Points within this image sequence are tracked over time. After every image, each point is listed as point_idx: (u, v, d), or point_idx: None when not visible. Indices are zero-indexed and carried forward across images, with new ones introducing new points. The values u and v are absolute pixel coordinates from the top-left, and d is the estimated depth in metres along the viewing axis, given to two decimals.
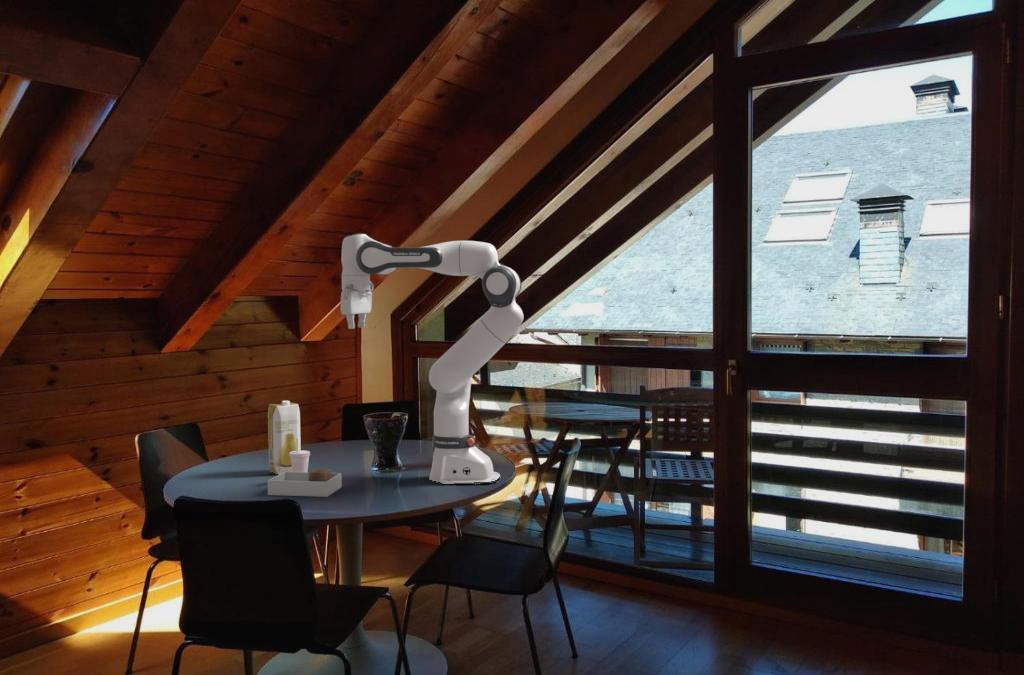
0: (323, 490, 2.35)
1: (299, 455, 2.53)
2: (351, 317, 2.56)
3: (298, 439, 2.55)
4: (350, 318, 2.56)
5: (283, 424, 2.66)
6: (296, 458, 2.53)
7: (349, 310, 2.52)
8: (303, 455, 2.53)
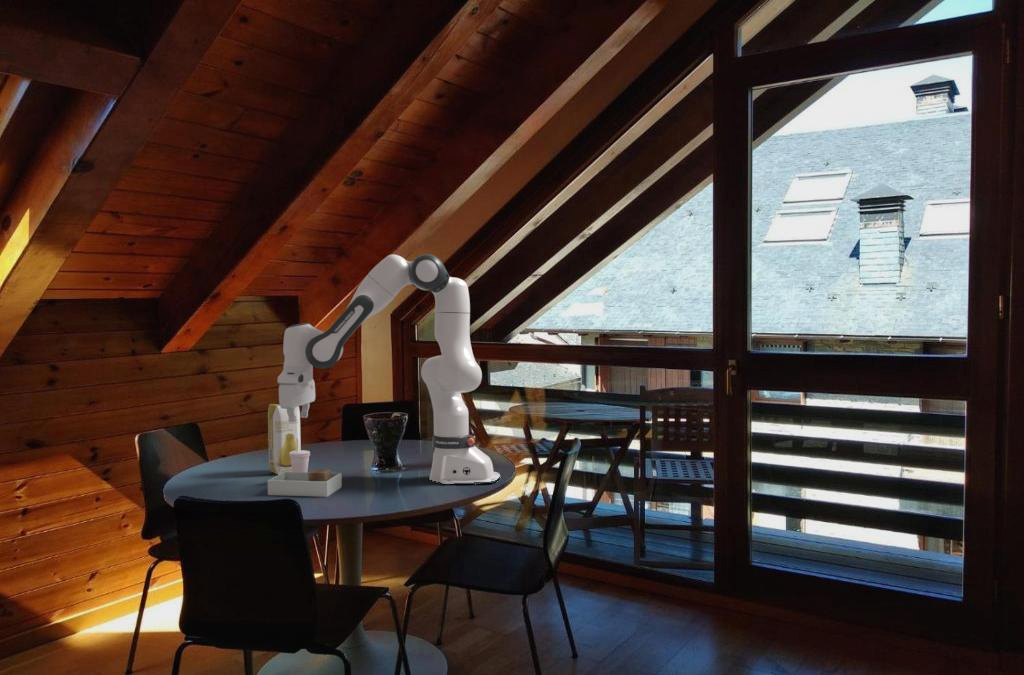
0: (323, 490, 2.35)
1: (299, 455, 2.53)
2: None
3: (298, 439, 2.55)
4: None
5: (283, 424, 2.66)
6: (296, 458, 2.53)
7: None
8: (303, 455, 2.53)
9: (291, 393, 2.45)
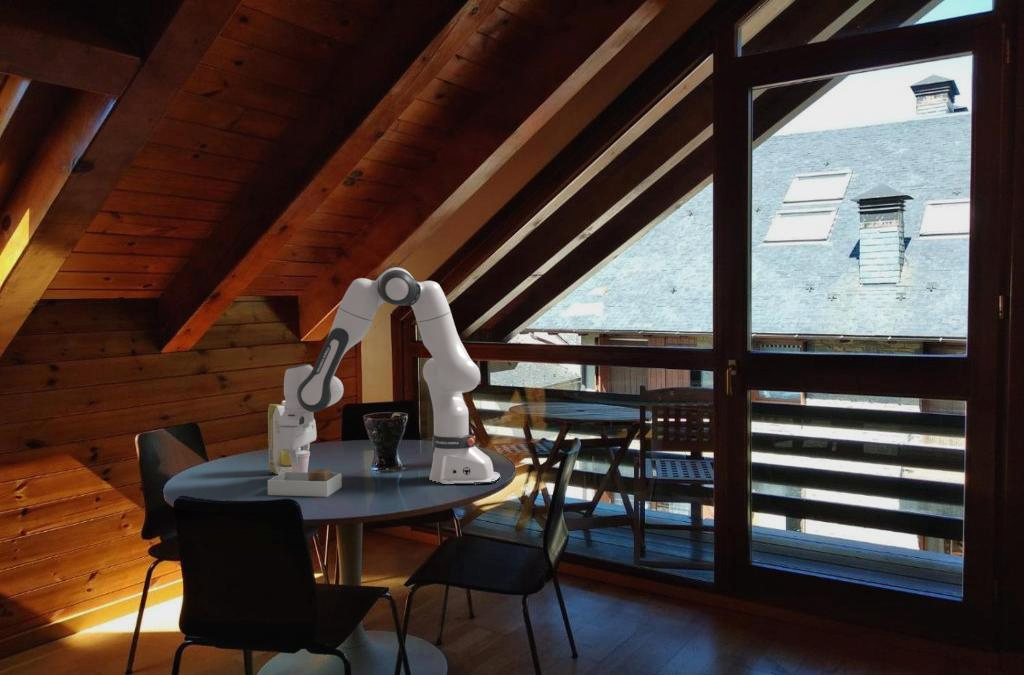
0: (323, 490, 2.35)
1: (299, 455, 2.53)
2: None
3: None
4: None
5: None
6: None
7: None
8: (303, 455, 2.53)
9: (292, 436, 2.46)
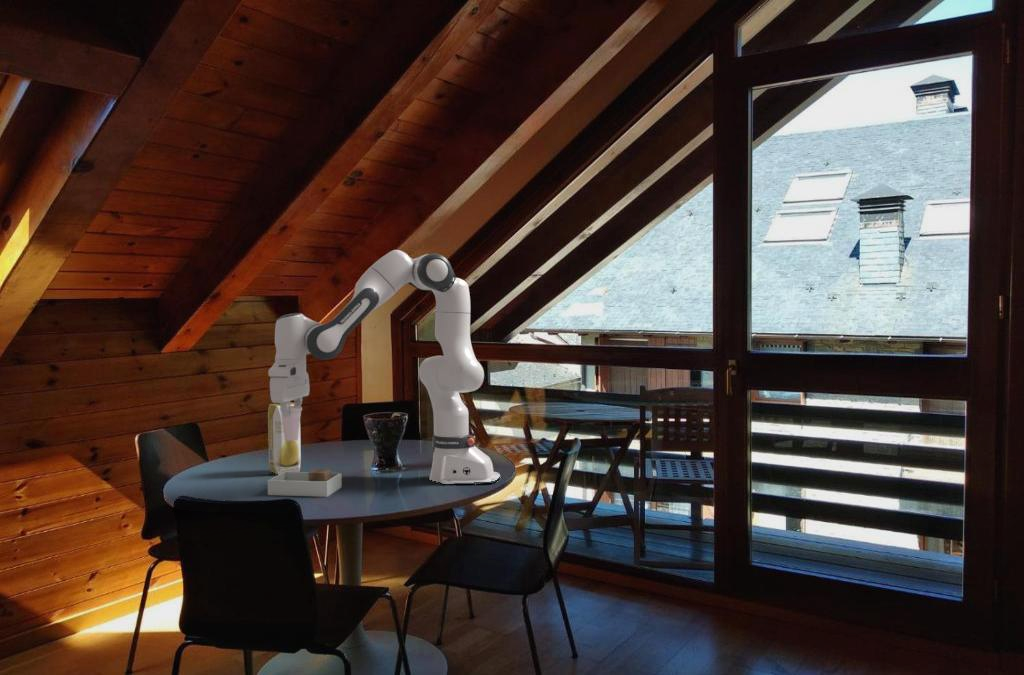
0: (323, 490, 2.35)
1: (290, 409, 2.40)
2: None
3: None
4: None
5: None
6: None
7: None
8: (295, 410, 2.40)
9: (283, 387, 2.33)
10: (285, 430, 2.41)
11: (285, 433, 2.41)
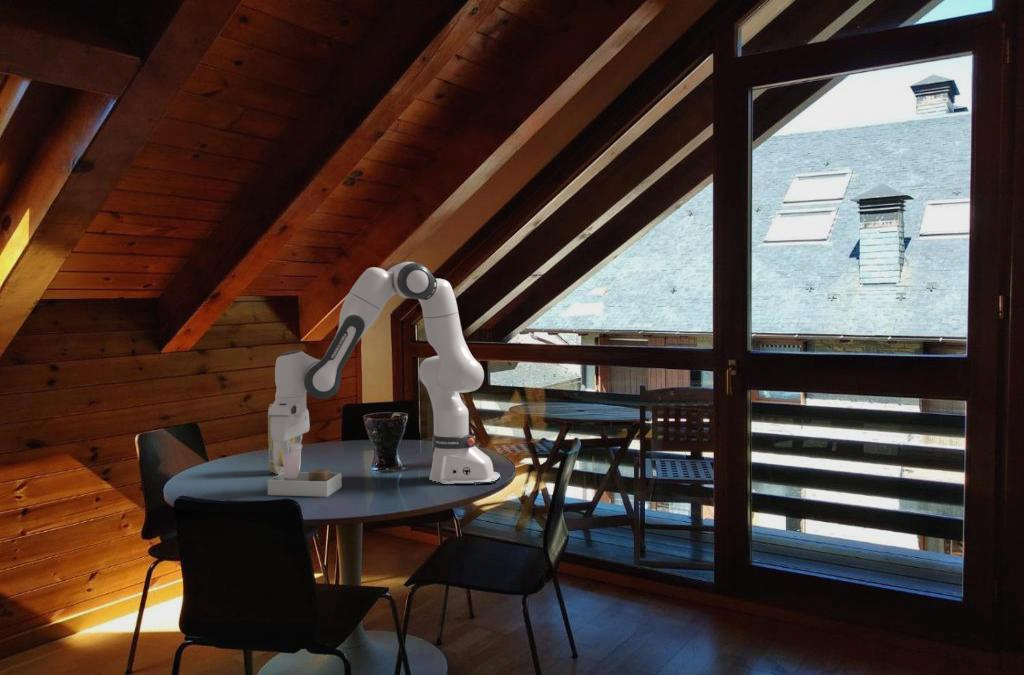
0: (323, 490, 2.35)
1: (291, 447, 2.39)
2: None
3: None
4: None
5: None
6: None
7: None
8: (295, 447, 2.40)
9: (283, 426, 2.32)
10: (286, 468, 2.40)
11: (285, 471, 2.41)
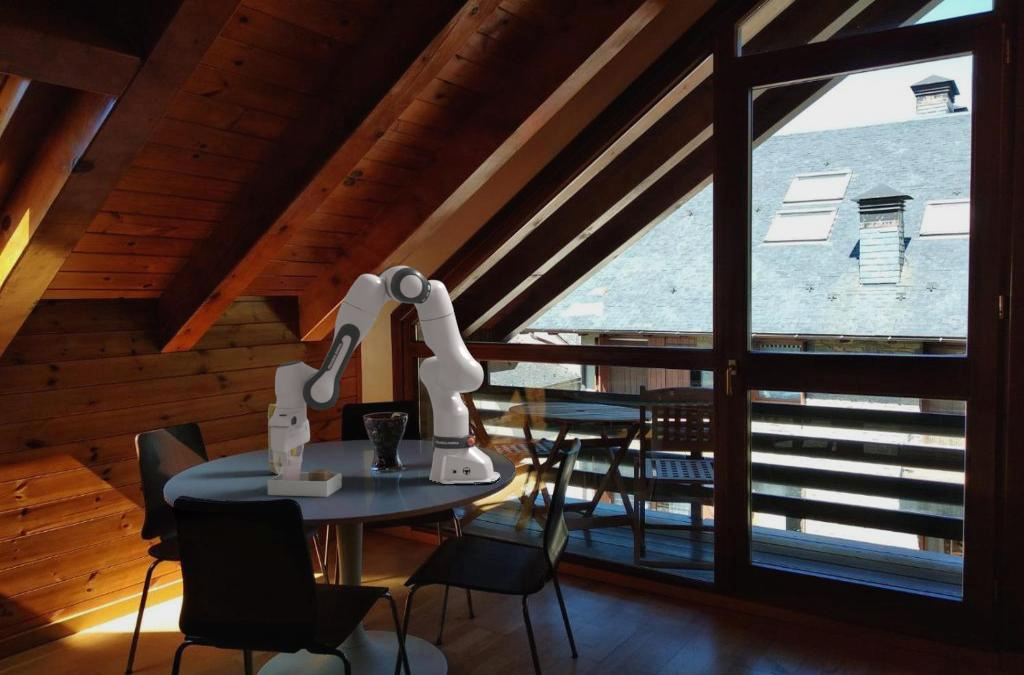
0: (323, 490, 2.35)
1: (291, 461, 2.39)
2: None
3: None
4: None
5: None
6: (288, 465, 2.39)
7: None
8: (295, 461, 2.40)
9: (284, 437, 2.32)
10: None
11: None
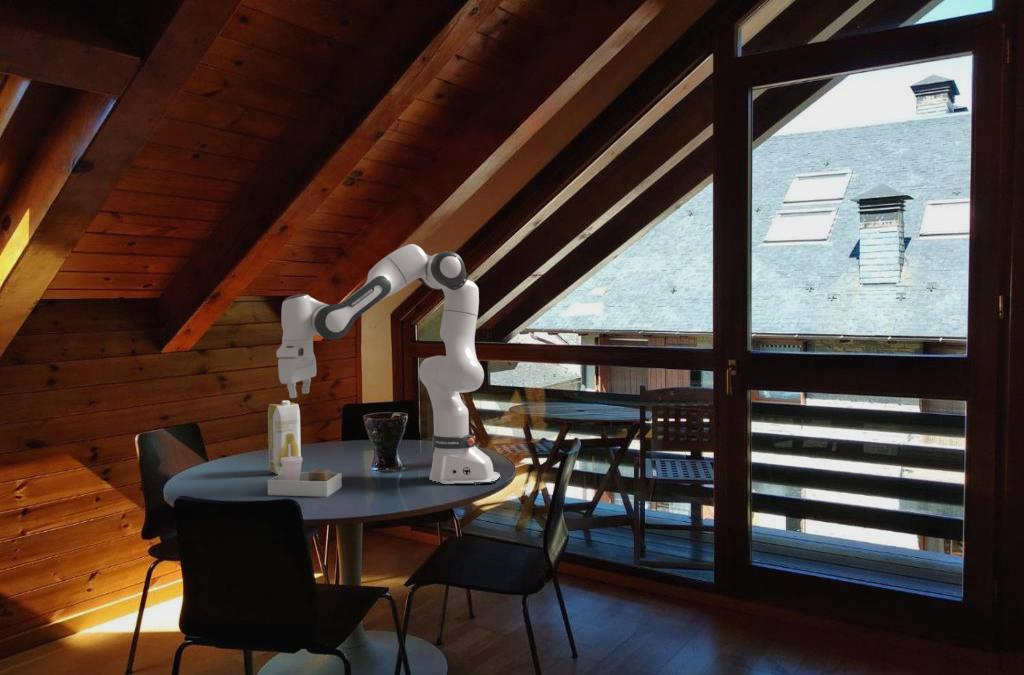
0: (323, 490, 2.35)
1: (291, 461, 2.39)
2: None
3: None
4: None
5: (283, 423, 2.66)
6: (288, 465, 2.39)
7: None
8: (295, 461, 2.40)
9: (291, 367, 2.34)
10: None
11: None
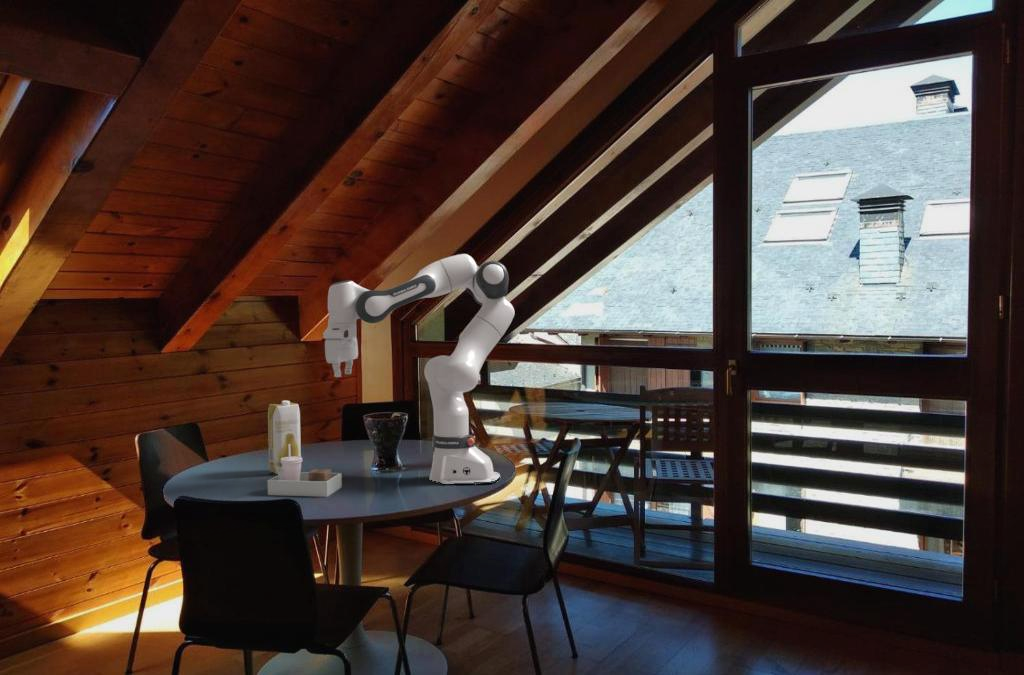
0: (323, 490, 2.35)
1: (291, 461, 2.39)
2: None
3: None
4: None
5: (283, 423, 2.66)
6: (288, 465, 2.39)
7: None
8: (295, 461, 2.40)
9: (337, 348, 2.49)
10: None
11: None
